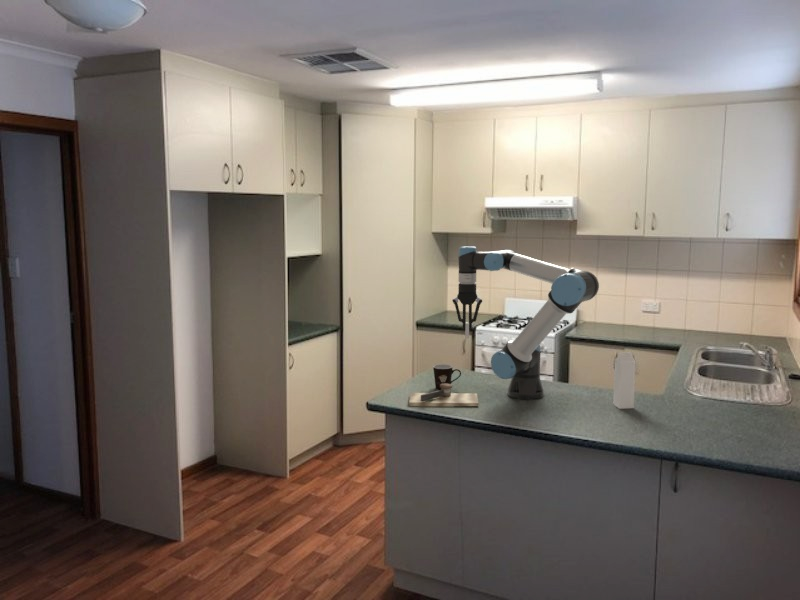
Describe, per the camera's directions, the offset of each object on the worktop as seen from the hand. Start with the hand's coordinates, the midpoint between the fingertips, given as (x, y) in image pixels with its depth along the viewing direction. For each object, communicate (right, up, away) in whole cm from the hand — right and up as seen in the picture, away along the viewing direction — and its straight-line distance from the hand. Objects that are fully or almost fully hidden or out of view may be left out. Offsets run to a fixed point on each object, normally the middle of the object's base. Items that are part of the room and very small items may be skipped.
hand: (467, 337), depth 279 cm
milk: (+61, -27, -18) cm, 69 cm away
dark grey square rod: (-14, -24, -10) cm, 30 cm away
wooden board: (-11, -26, -9) cm, 29 cm away
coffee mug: (-8, -24, +10) cm, 27 cm away
